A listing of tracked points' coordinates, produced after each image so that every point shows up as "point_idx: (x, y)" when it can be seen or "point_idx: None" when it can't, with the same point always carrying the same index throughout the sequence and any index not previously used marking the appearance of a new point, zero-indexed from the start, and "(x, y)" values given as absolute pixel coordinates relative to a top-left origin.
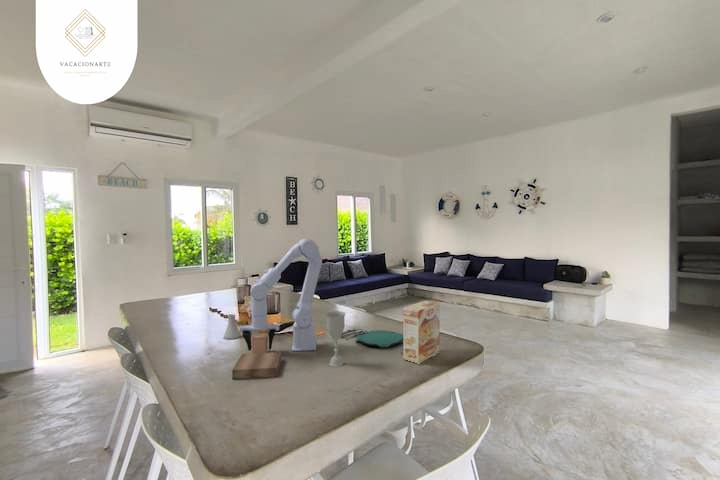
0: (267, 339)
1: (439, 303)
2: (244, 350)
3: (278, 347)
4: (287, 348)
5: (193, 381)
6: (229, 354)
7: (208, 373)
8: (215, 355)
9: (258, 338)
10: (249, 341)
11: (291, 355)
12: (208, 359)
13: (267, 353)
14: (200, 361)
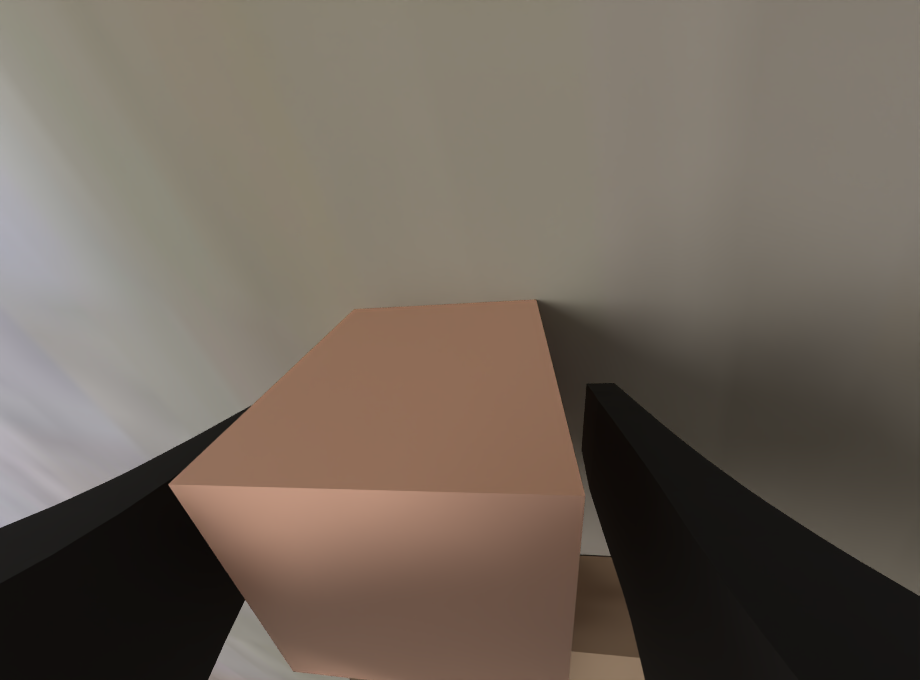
0: (564, 429)
1: None
2: (192, 261)
3: (726, 141)
4: (906, 213)
5: (231, 666)
6: (115, 374)
7: (237, 625)
8: (3, 384)
9: (364, 609)
10: (233, 588)
11: (871, 484)
12: (38, 459)
13: (597, 666)
14: (19, 484)
